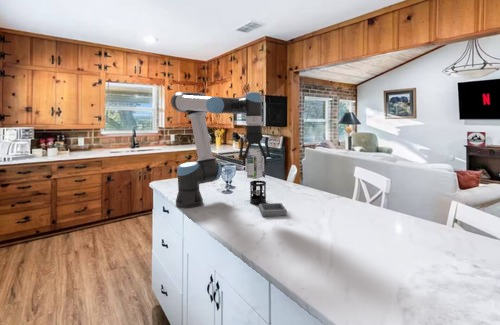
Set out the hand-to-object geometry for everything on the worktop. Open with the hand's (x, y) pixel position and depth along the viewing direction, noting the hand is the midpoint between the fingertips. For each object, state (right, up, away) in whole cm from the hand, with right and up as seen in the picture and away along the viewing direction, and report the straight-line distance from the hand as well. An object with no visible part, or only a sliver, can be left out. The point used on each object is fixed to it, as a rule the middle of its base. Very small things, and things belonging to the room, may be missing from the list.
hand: (254, 171), depth 142 cm
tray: (+9, -21, +5) cm, 24 cm away
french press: (+2, -19, +23) cm, 30 cm away
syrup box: (0, -3, 0) cm, 3 cm away
